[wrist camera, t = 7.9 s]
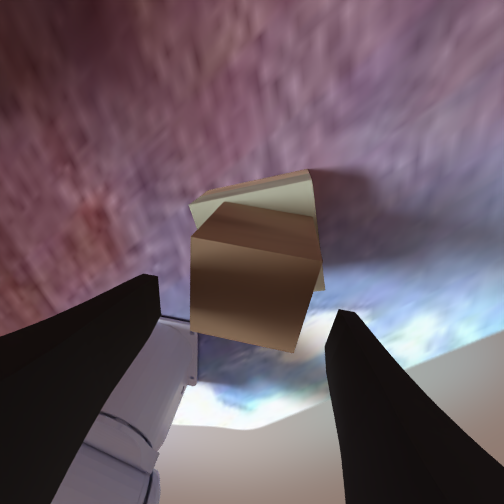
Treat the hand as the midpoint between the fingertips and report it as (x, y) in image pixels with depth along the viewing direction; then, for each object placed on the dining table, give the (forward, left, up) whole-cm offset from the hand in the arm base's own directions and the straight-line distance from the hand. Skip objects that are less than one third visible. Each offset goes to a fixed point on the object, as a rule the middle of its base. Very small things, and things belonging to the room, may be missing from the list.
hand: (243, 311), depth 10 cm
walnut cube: (0, 0, -6) cm, 6 cm away
